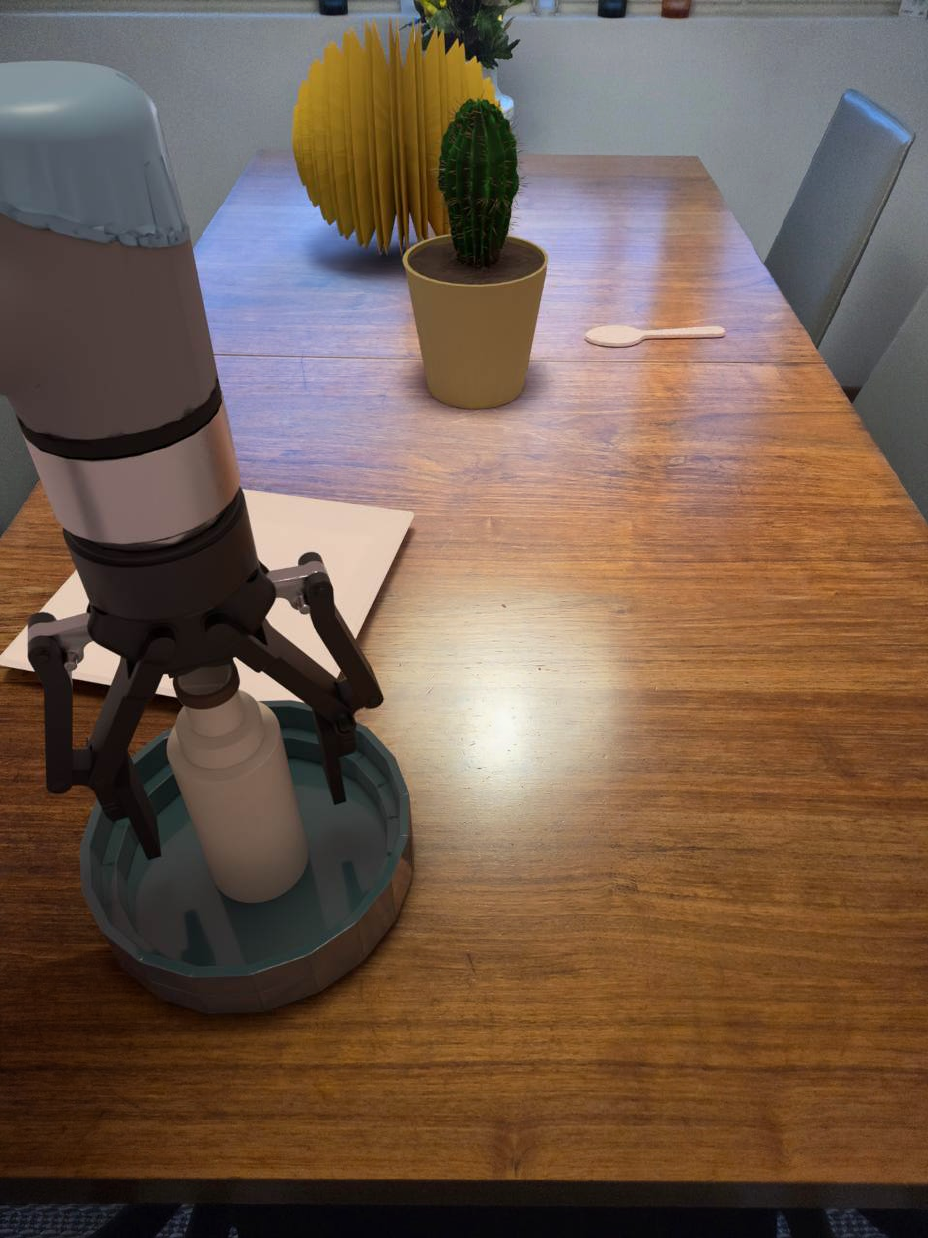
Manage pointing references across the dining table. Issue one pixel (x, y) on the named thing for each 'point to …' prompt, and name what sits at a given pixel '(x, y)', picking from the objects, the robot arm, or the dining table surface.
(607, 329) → the spoon
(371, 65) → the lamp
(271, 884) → the bottle
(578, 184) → the dining table surface
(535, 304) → the potted cactus
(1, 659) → the beige square board
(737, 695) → the dining table surface
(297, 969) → the bowl
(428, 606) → the dining table surface
